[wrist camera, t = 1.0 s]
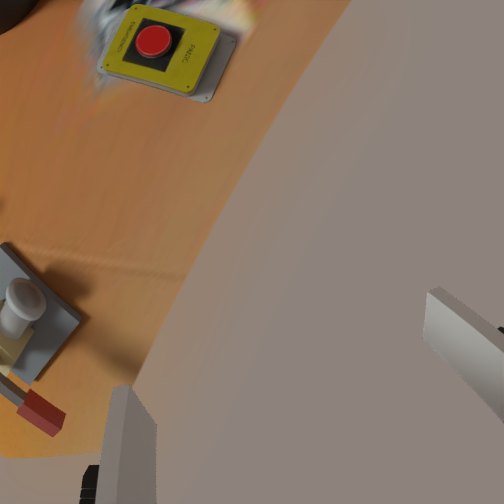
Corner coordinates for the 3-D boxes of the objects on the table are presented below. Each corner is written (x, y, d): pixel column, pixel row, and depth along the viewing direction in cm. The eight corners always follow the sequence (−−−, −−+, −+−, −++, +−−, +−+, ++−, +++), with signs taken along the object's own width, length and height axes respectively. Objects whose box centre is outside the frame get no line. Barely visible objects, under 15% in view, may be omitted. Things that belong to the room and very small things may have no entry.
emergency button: (119, -5, 23) (244, 29, 27) (126, 8, 27) (238, 40, 31) (83, 65, 25) (210, 101, 30) (94, 72, 29) (208, 105, 34)
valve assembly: (-33, 321, 35) (-62, 356, 25) (4, 242, 33) (-37, 272, 23) (32, 380, 41) (13, 422, 31) (82, 316, 39) (60, 363, 29)
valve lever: (-21, 361, 27) (-30, 374, 24) (-16, 350, 27) (-25, 363, 24) (57, 421, 32) (52, 437, 30) (66, 413, 32) (61, 429, 29)
